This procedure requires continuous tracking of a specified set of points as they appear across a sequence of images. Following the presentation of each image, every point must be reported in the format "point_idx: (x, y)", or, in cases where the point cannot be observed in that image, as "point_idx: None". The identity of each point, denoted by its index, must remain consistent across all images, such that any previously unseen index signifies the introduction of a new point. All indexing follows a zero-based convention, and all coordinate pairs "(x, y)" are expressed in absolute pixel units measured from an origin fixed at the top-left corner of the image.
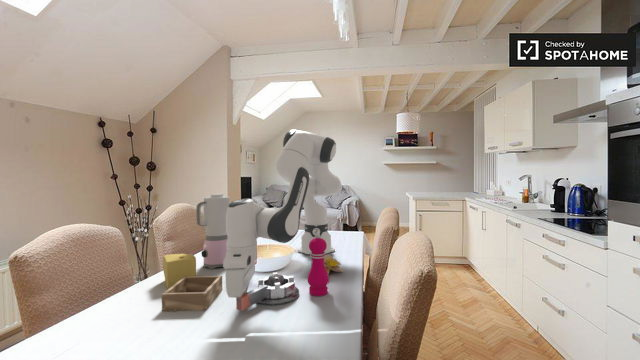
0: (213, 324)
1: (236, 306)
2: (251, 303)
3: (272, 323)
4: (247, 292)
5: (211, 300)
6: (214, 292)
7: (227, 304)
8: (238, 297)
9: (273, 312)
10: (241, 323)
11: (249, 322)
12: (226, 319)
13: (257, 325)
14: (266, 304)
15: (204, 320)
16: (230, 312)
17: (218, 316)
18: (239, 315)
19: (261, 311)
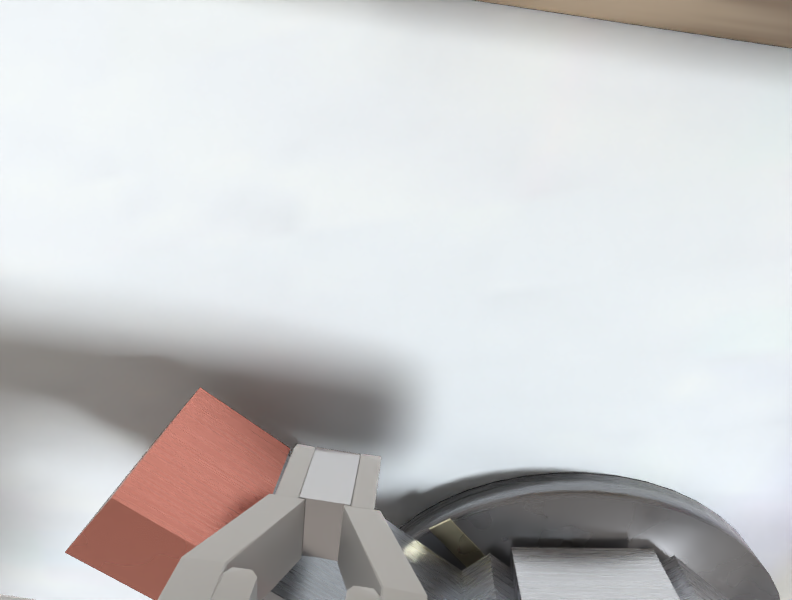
0: (17, 168)
1: (185, 406)
2: None
3: (95, 569)
4: (269, 598)
5: (586, 3)
6: (786, 10)
7: (480, 244)
8: (92, 520)
9: None
10: (71, 403)
11: (93, 453)
12: (128, 280)
13: (57, 498)
14: None
15: (87, 35)
16: (272, 299)
17: (187, 189)
18: (207, 381)
19: None
